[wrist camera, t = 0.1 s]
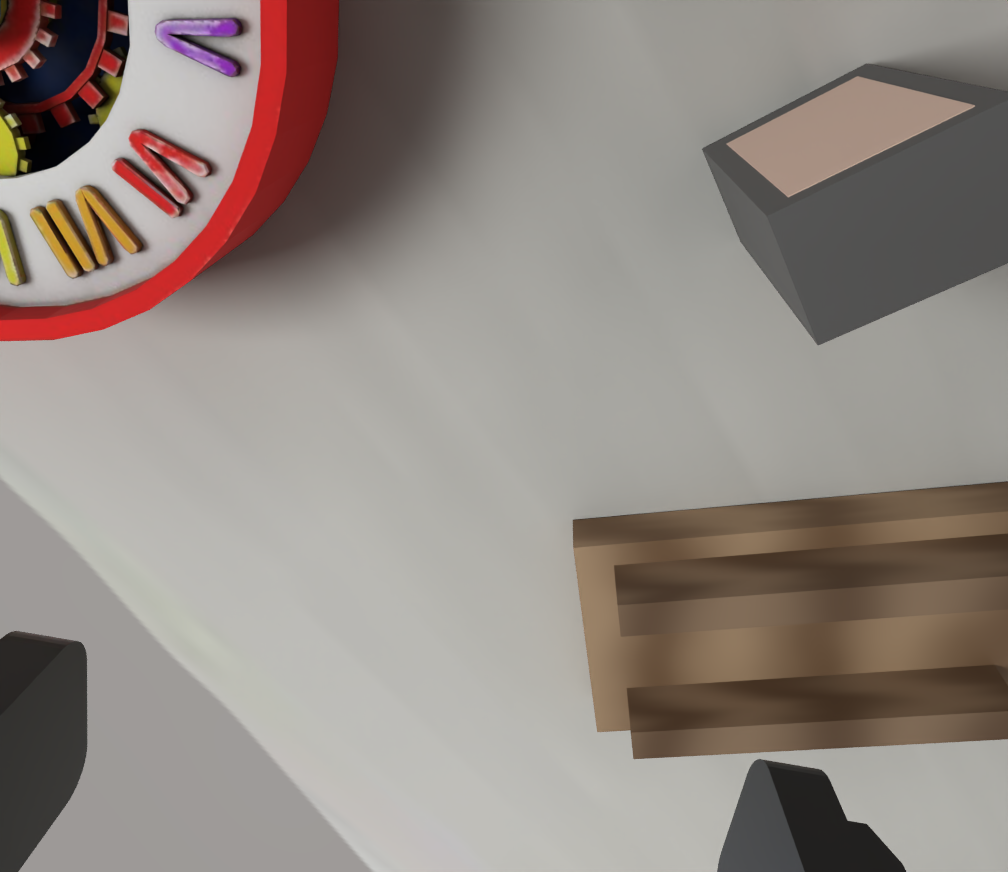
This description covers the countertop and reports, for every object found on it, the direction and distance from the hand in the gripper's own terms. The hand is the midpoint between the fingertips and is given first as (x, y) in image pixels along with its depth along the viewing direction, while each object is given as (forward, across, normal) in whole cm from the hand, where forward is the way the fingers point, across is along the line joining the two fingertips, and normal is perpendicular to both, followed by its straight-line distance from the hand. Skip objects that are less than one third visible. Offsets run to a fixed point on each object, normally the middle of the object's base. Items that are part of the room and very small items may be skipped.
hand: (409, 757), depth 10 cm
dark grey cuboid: (+22, -9, -8) cm, 25 cm away
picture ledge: (+24, -14, +10) cm, 29 cm away
